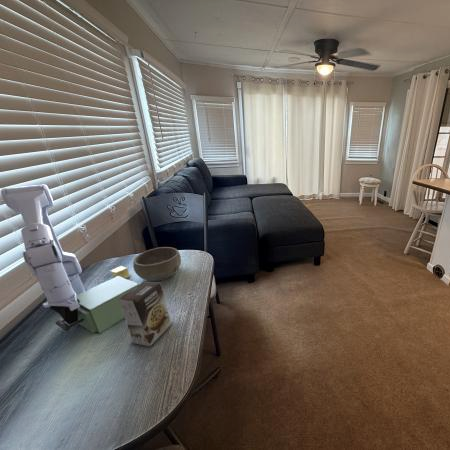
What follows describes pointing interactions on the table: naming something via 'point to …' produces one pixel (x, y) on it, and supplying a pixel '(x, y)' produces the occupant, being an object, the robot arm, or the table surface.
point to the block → (120, 272)
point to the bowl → (157, 263)
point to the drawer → (80, 321)
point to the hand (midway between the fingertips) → (72, 321)
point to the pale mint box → (106, 301)
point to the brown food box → (145, 312)
